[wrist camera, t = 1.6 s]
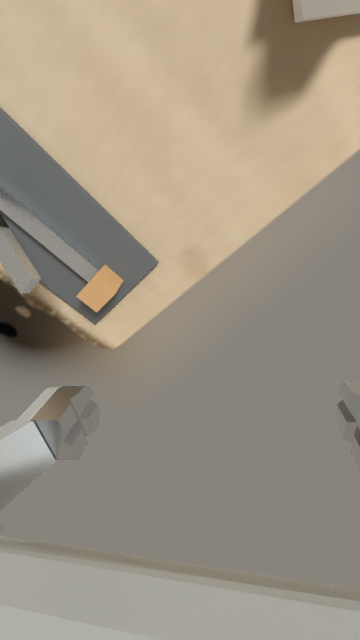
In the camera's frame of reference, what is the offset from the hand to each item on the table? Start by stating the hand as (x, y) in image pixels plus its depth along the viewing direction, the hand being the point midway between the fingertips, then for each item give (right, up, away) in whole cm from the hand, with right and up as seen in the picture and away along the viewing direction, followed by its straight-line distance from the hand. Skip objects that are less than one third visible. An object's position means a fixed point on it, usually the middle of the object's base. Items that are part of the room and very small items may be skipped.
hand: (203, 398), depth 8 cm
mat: (-22, +17, +32) cm, 42 cm away
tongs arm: (-25, +15, +24) cm, 38 cm away
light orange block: (-14, +9, +35) cm, 39 cm away
